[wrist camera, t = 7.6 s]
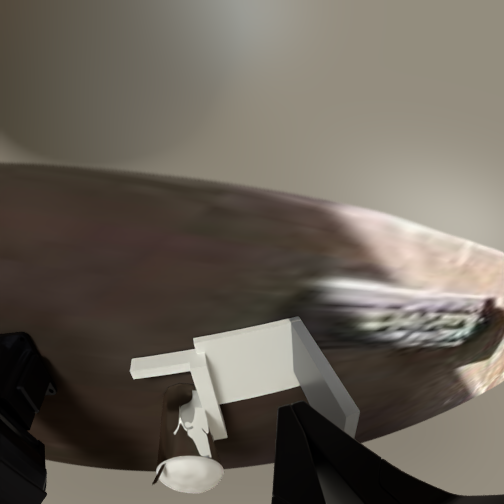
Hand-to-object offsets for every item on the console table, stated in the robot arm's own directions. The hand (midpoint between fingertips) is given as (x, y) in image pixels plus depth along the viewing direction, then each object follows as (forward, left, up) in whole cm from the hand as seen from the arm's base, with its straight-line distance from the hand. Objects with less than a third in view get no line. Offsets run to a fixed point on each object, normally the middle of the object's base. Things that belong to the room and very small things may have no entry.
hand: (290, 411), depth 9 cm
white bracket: (-2, -11, -13) cm, 17 cm away
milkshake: (-6, -11, -13) cm, 18 cm away
